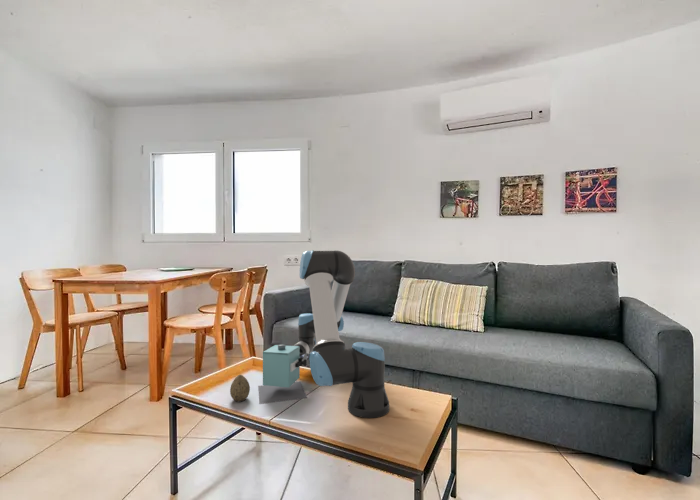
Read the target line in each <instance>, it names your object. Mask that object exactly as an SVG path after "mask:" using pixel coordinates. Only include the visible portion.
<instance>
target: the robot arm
mask: <svg viewBox="0 0 700 500" xmlns="http://www.w3.org/2000/svg"><path fill="white" fill-rule="evenodd" d="M299 264H300V265H299V278H300V279H301V280H304V284H305V285H306V286H308V288H309V295H310V302H311V311H312V313H307V312H306V313H300V314H299V316H298V321H297V322H298V323H297V326H298V327H297V328H298V338H297V339H298V340H297V341H298V342H297V343H295V344H294V345H292V346H300V358H299V359H298V360H296V361H294V362H293V363H292V364H290V371H293V370H295V369H296V368H297V367H299V366H300V367H302V366H304V367H306V366H307V364H308V363H307V362H308V360H309V368H310V372H311V377H312V378H313V381H314V382H315V384H316V385H318V386H320V387H332V386H335V385H344V384H352V387H351V391H350V394H349V397H348V399H347V410H348V412H349V413H350V414H351V415H354V416H355V417H359V418H364V419H374V418H375V419H376V418H381V417H384V416H386V415H387V414H388V413H389V412H390V401H389V397H388V394H387V392H386V388H385V374H386V373H385V368H386V367H385V363H386V359H385V350H384V348H383V347H382V346H380V345H379V344H376V343H373V342H367V341H366V342H365V341H364V342H363V341H357V342H354V343H352V345H351V348H346V344H345V342H344V340H342V339H341V338H340V333H339V332H341V331H343V330H344V327H345V326H344V324H345V321H344V318H343V317H342V315H343V311H344V307H345V304H346V300H347V296H348V294H349V290H350V286H351V285H352V284H353V282H354V280H355V275H356V268H355V264H354V262H353V260H352V259H351V257H350V256H349V255H348V254H347V253H346V252H343V251H341V250H313V249H312V250H305V251H303V252H302V254H301V257H300V263H299ZM332 282H333V283H332ZM331 284H332V286H331Z"/></svg>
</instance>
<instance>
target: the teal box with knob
mask: <svg viewBox="0 0 700 500" xmlns="http://www.w3.org/2000/svg"><path fill="white" fill-rule="evenodd" d="M299 358H300V346H293V345H286V344H284V343H283V344H275V345H273V346H271V347H269V348H267V349H266V350H264V351H262V385H267V386H278V387H290V386H291V385H292V384H293V383H294V382H297V381H298V380H299V379H300V373H301V372H300V371H301V369H300V367H301V366H299V367H297V368H296V369H295V370H293V371H290V364H292V363H293V362H294V361H296V360H298V359H299Z"/></svg>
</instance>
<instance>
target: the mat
mask: <svg viewBox="0 0 700 500" xmlns="http://www.w3.org/2000/svg"><path fill="white" fill-rule="evenodd" d="M257 388H258V390H257V391H258V402H259V403H258V404H259V405H264V404H271V403H280V402H289V401H296V400H304V399H308V396H307V393H306V391H305V388H304V386H303V383H302V381H295V382H294V383H293V384H292V385H291V386H290V387H278V386H267V385H263V384H262V385H258V386H257Z"/></svg>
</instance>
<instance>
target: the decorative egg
mask: <svg viewBox="0 0 700 500" xmlns="http://www.w3.org/2000/svg"><path fill="white" fill-rule="evenodd" d="M250 388H251V387H250V383H249V381H248V379H247V378H246V377H245V376H244V375H243V374H238V375H237V376H235V378H234V379H233V380H232V382H231V385H230V389H229V392H230V397H231V398H232V400H234V401H235V402H244V401H245V400H246V399H248V397H249V395H250V392H251V391H250V390H251V389H250Z"/></svg>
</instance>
